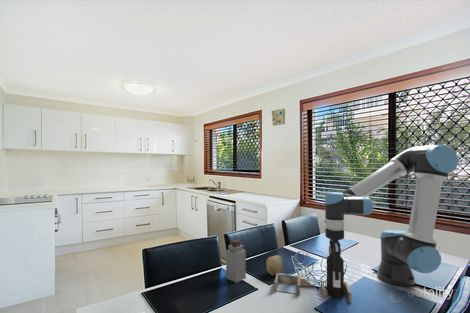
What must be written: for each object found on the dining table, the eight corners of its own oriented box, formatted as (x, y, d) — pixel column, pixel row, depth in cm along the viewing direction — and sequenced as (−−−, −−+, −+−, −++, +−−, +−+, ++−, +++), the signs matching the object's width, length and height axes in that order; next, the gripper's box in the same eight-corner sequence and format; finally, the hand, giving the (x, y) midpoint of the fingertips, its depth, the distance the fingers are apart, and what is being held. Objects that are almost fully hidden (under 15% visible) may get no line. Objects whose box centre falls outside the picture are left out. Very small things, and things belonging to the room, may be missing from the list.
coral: (291, 264, 119) (272, 256, 119) (282, 283, 119) (263, 275, 119) (287, 255, 128) (269, 248, 128) (279, 273, 129) (262, 265, 129)
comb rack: (346, 289, 109) (346, 280, 109) (351, 302, 99) (351, 291, 99) (276, 280, 117) (276, 272, 117) (274, 291, 107) (274, 282, 107)
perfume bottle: (245, 277, 120) (245, 240, 121) (236, 282, 115) (236, 244, 116) (235, 273, 125) (235, 237, 125) (226, 278, 120) (226, 241, 120)
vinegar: (347, 297, 102) (347, 249, 103) (334, 299, 101) (333, 250, 101) (336, 289, 109) (336, 244, 109) (323, 291, 107) (323, 245, 108)
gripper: (323, 222, 117) (323, 270, 116) (327, 234, 96) (328, 293, 96) (340, 223, 115) (340, 271, 114) (348, 236, 94) (349, 295, 94)
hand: (335, 281), depth 105 cm, fingers open, 9 cm apart
